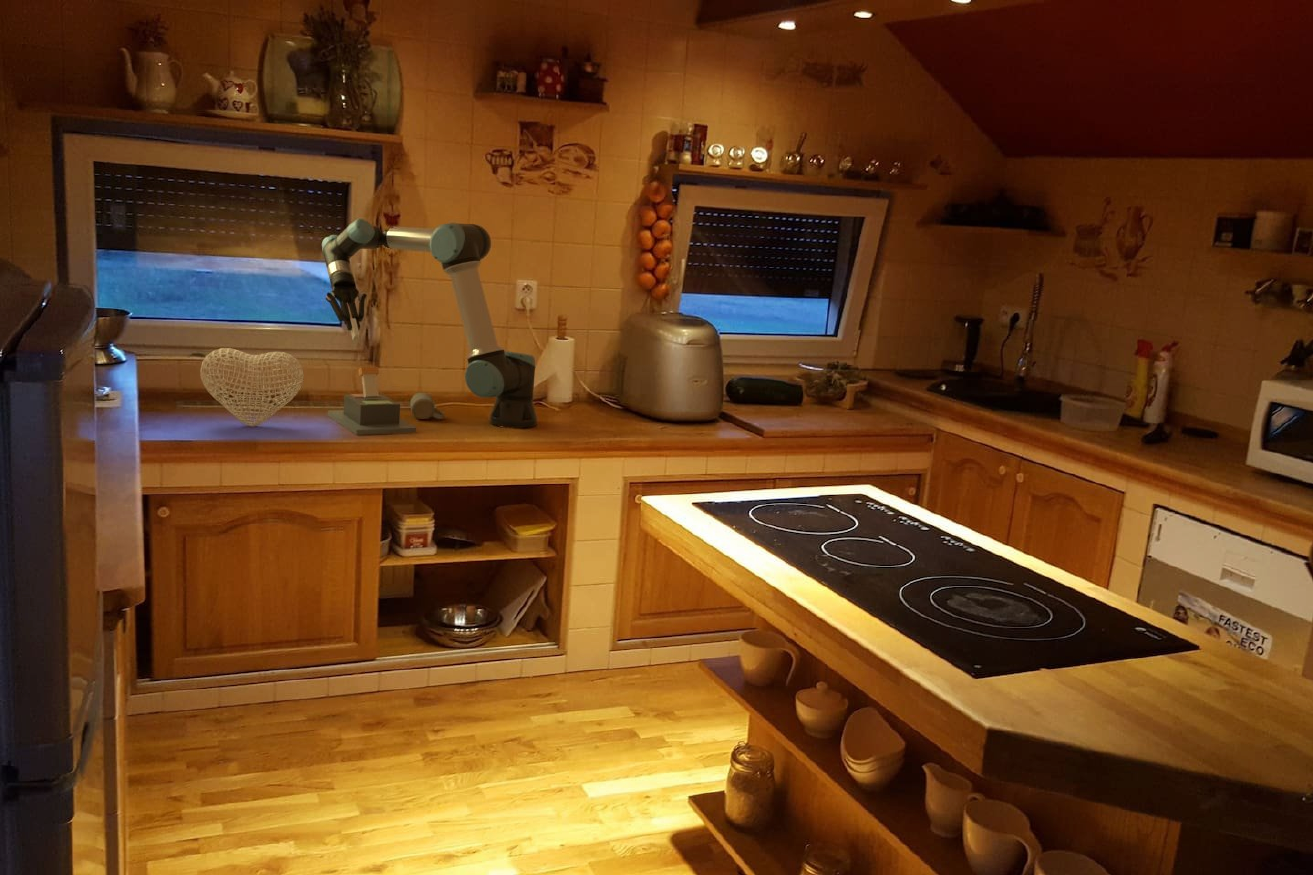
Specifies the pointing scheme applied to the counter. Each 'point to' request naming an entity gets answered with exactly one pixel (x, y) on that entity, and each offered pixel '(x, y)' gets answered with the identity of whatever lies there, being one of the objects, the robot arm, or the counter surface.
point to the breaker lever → (369, 381)
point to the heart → (248, 356)
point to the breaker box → (371, 415)
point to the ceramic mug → (424, 407)
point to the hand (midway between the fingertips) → (356, 337)
